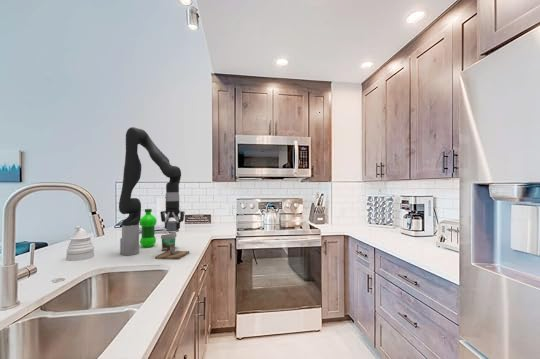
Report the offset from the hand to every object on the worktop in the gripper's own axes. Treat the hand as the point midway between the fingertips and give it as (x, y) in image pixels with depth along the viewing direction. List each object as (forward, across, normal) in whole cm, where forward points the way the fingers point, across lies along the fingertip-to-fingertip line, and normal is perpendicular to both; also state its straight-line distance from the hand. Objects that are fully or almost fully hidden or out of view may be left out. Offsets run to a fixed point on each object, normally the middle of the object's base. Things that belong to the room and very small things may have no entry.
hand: (172, 229), depth 156 cm
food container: (+16, -9, +16) cm, 24 cm away
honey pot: (+16, -51, -8) cm, 54 cm away
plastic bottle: (+16, -28, +22) cm, 39 cm away
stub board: (+15, 0, 0) cm, 15 cm away
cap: (+1, 0, 0) cm, 1 cm away
